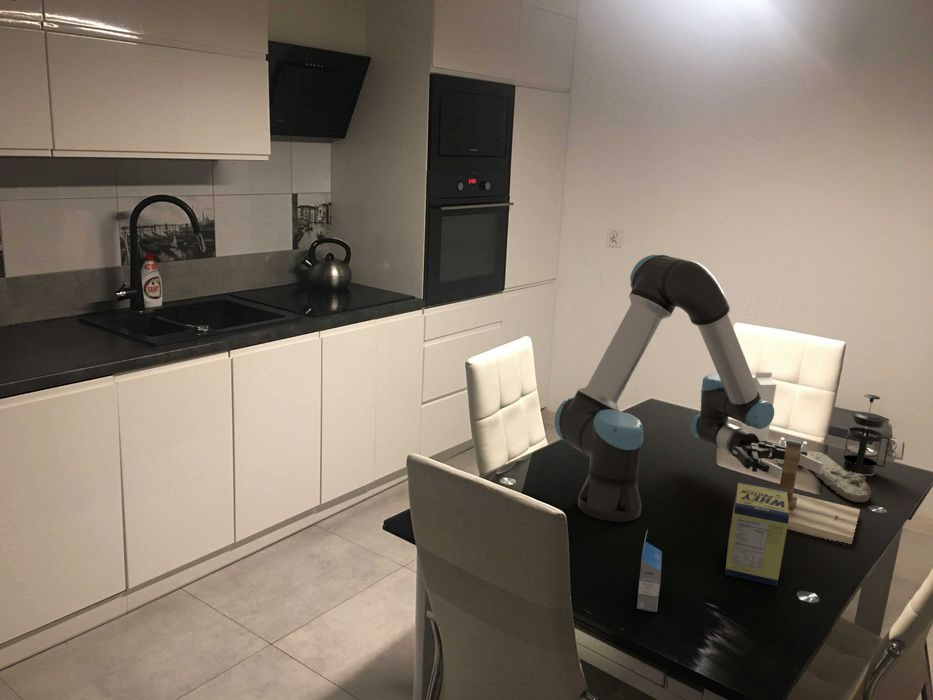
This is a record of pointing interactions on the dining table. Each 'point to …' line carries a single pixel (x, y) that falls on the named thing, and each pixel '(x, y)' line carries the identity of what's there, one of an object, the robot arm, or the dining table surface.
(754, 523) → the protein box
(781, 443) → the bracket
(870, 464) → the french press
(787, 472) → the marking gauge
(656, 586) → the label tape box
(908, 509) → the dining table surface
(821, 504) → the pine board
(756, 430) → the milk
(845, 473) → the elongated rock
